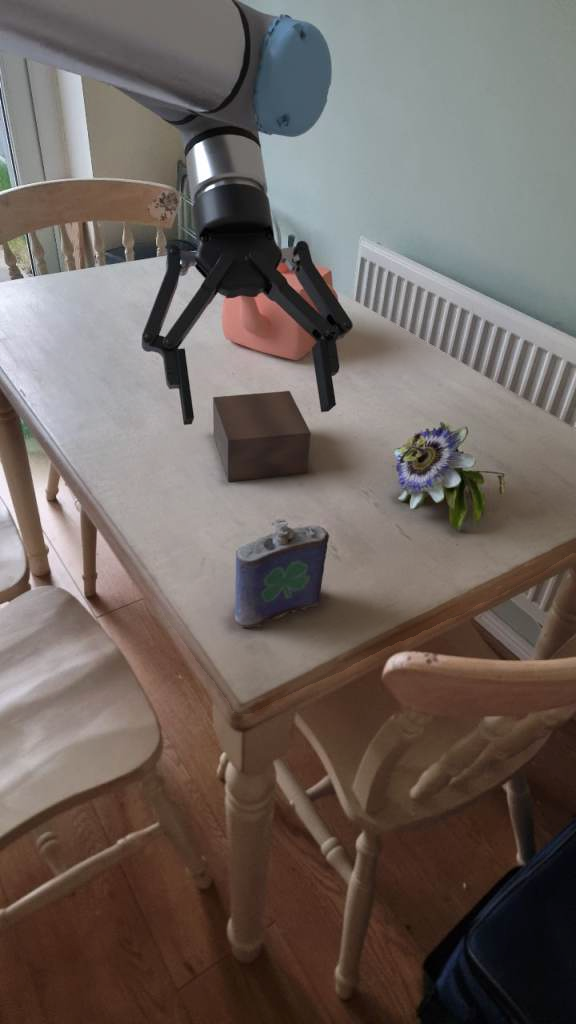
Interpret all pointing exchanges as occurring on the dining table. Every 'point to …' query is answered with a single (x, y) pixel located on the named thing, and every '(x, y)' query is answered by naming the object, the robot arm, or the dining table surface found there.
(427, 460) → the passion flower
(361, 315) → the dining table surface
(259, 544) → the flask
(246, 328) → the teapot
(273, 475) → the walnut block
